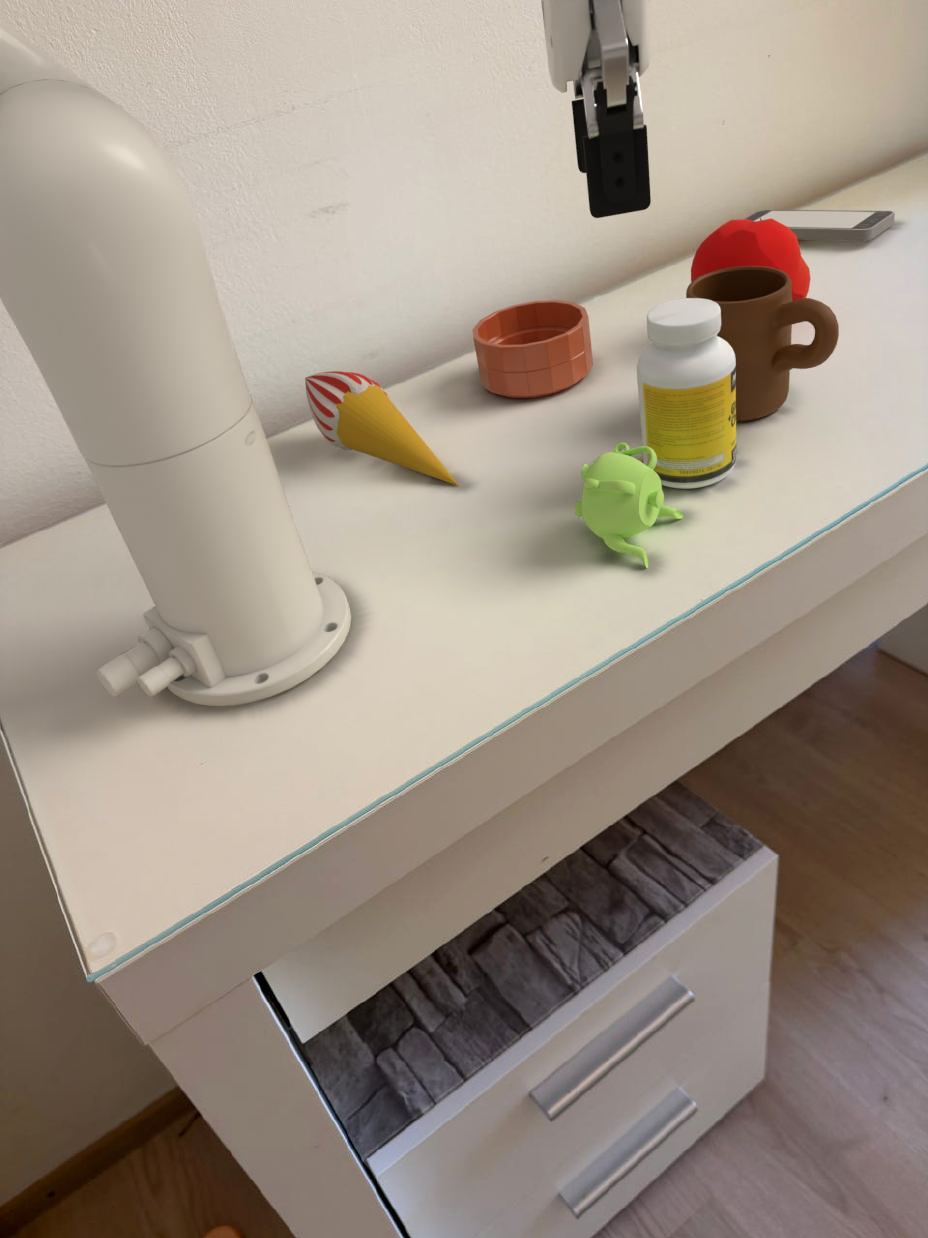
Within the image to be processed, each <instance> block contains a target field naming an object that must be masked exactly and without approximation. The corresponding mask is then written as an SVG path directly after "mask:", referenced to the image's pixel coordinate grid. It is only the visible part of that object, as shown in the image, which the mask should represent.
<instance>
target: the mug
mask: <svg viewBox="0 0 928 1238" xmlns="http://www.w3.org/2000/svg"><path fill="white" fill-rule="evenodd" d="M685 298H701V299H708V300H711V301H714V302H716V303H717V304H718V305H719V306H720V309H721V329H720V331H719V333H718V334H717V336H718V337H720V338H722V339H724V340H725V341H726V342H727V343H728V344H729V345H730V346H731V347H732V349H733V351H734V354H735V359H736V423H739V422H749V421H753V420H757V419H761V418H764V417H766V416H769V415H771V414H773V413H775V412H777V410H779V409H780V408H781V407H782V406H783V405H784V404H785V402H786V401H787V399H788V395H789V389H790V379H791V378H790V376H791V375H790V374H791V373H790V372H791V370H793V369H797V370H798V369H799V370H807V369H813V368H816V367H819V366H821V365H822V364H823V363H825V362H826V361H827V360H828V359H829V358H830V357H831V356H832V355H833V353H834V351H835V350H836V348H837V346H838V341H839V335H840V333H839V332H840V331H839V329H840V328H839V322H838V319H837V316H836V313H834V311H833V310H832V308H831V307H830V306H829V305H827V304H825V303H824V302H822V301H820V300H817V299H815V298H811V297H806V298H803V299H799V300H796V301H792V291H791V279H790V277H789V276H788V274H786V273H785V272H783V271H781V270H779V269H775V268H770V267H763V266H742V267H732V268H726V269H721V270H717V271H714V272H710V273H708V274H705V275H703V276H700V277H698V278H697V279H695V280H694V281H692V282H691V281H690V283H689V284H688V286H687V288H686V292H685ZM804 322H807V323H809V324H811V326H813V329H814V336H813V339H812V341H811V343H810V344H803V343H792V332H793V331H792V330H793V329H792V328H793V326H792V325H795V324H796V325H797V324H800V323H804Z"/></svg>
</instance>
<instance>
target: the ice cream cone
mask: <svg viewBox="0 0 928 1238" xmlns="http://www.w3.org/2000/svg"><path fill="white" fill-rule="evenodd" d="M304 381H305V383H304V384H305V392H306V394H305V395H306V399H307V402H308V406H309V411H310V413H311V417H312V419H313V422H314V423H315V426H316V427H317V429H318V431H319V432H320V433H321V435H322V436H323V438H324V439H325V440H326V441H327V442H328V443H329V444H330V445H331V446H333V447H335V448H339V449H341V450H344V451H351V450H352V451H356V452H359V453H361V454H365V455H368V456H371V457H373V458H377V459H379V460H382V461H385V462H388V463H391V464H394V465H397V466H400V467H402V468H405V469H409V470H412V471H414V472H417V473H419V474H423V475H426V476H428V477H432V478H434V479H437V480H440V481H443V482H447V483H449V484H452V485H455V486H458V487H460V484H459V483H458V482H457V481H456V480H455V478H454V477H453V475H452V474H451V473H450V472H449V471H448V469H447V468H446V467H445V466H444V465H443V463H442V462H441V460H440V459H438V457H437V456H436V455H435V453H434V452H433V451H432V449H430V447H429V446H428V444H427V443H426V442H425V441H424V440H423V438H422V437H421V436H420V435H419V433H417V431H416V430H415V429H414V427H413V426H412V425H411V424H410V422H409V421H408V420H407V419H406V417H405V416H404V415H403V414H402V412H401V411H400V410H399V409H398V408H397V407H396V405H395V404H394V403H393V401H392V400H391V398H390V396H389V394H388V393H387V392H386V391H385V390H383V387H382V386H381V385H380V384H379V383H378V382H377V381H375V380H373V379H370V378H369V377H367V376H365V375H364V374H361V373H358V372H351V371H339V370H337V371H336V370H333V371H322V372H318V373H314V374H311V375H308V376H307V377H305V378H304Z"/></svg>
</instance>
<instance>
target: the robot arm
mask: <svg viewBox="0 0 928 1238" xmlns="http://www.w3.org/2000/svg"><path fill="white" fill-rule="evenodd" d="M540 1H541V11H542V18H543V19H542V20H543V21H542V22H543V28H544V29H543V30H544V38H545V46H546V47H545V48H546V55H547V66H548V72H549V73H548V74H549V77H550V80H551V84H552V86H553V88H554V89H555V90H557V91H558V92H560V93H561V94H563V93H567V92H568V83H569V82H572V83H573V94H574V100H571V110H572V119H573V120H572V121H573V130H574V141H575V151H576V160H577V168H578V171H579V172H580V173H582V174H585V175H586V185H587V186H586V188H587V197H588V209H589V212H590V215H591V217H593V218H594V219H601V218H607V217H612V216H617V215H623V214H629V213H634V212H641V211H645V210H647V209H648V208H649V207H650V206H651V204H652V203H651V202H652V200H651V199H652V197H651V180H650V163H649V144H648V143H649V141H648V126H647V124H644V110H643V104H642V103H643V101H642V92H641V86H640V78H641V76H643V75H644V74H645V72H646V71H647V70H648V69H649V67H650V57H651V56H650V55H651V54H650V52H651V45H650V43H651V42H650V41H651V38H650V37H651V35H650V34H651V33H650V31H651V30H650V29H651V27H650V26H651V25H650V24H651V23H650V0H540ZM0 301H1V303H2V304H3V306H4V308H5V310H6V312H7V313H8V316H9V317H10V319H11V321H12V322H13V324H14V326H15V328H16V329H17V331H18V334H19V335H20V337H21V339H22V341H23V342H24V344H25V346H26V348H27V349H28V351H29V354H30V355H31V357H32V359H33V361H34V362H35V364H36V367H37V368H38V370H39V372H40V374H41V375H42V378H43V380H44V382H45V384H46V386H47V387H48V389H49V391H50V393H51V396H52V398H53V401H54V402H55V404H56V406H57V407H58V410H59V412H60V413H61V416H62V418H63V420H64V421H65V424H66V426H67V428H68V430H69V432H70V434H71V437H72V438H73V440H74V442H75V444H76V446H77V449H78V450H79V453H80V455H81V457H82V458H83V459H84V461H85V463H86V465H87V467H88V469H89V471H90V473H91V475H92V477H93V479H94V481H95V484H96V486H97V488H98V490H99V491H100V494H101V496H102V498H103V500H104V502H105V504H106V506H107V509H108V510H109V512H110V514H111V517H112V519H113V521H114V523H115V525H116V527H117V529H118V531H119V533H120V535H121V538H122V540H123V541H124V544H125V546H126V548H127V549H128V552H129V554H130V556H131V558H132V560H133V562H134V565H135V566H136V569H137V570H138V573H139V574H140V577H141V579H142V581H143V583H144V585H145V587H146V589H147V591H148V593H149V596H150V597H151V599H152V602H153V604H154V606H153V607H152V608H149V609H148V610H146V611H145V612H143V613H142V616H143V618H144V620H145V622H146V624H147V626H148V628H149V629H148V630H147V631H146V632H144V633H143V634H141V635H139V636H138V644H136V645H135V646H134V647H131V649H129V650H127V651H126V652H124V653H121V654H119V655H118V656H116V657H114V658H113V659H112V660H109V661H108V662H106V663H105V664H104V665H102V666H101V667H100V668H98V669H96V670H95V675H96V677H97V679H98V681H99V682H100V683H101V685H102V686H103V688H104V689H105V690H106V691H107V692H108V693H109V694H110V695H111V696H112V697H113V698H117V697H118V696H119V695H121V694H122V693H124V692H125V691H127V690H128V689H130V688H131V687H133V686H134V685H135V684H138V685H139V687H140V688H141V689H142V691H143V692H144V694H146V695H147V696H148V697H149V698H153V697H154V696H156V695H157V694H159V693H160V692H161V691H163V690H165V689H166V688H167V689H168V690H169V691H170V692H171V693H172V694H173V695H175V696H176V697H178V698H180V699H182V700H183V701H187V702H188V703H189V702H190V703H193V704H196V705H202V706H211V707H229V706H238V705H245V704H250V703H255V702H258V701H262V700H265V699H268V698H271V697H274V696H276V695H279V694H281V693H284V692H286V691H289V690H290V689H293V688H294V687H296V686H298V685H300V684H301V683H303V682H305V681H307V680H308V679H310V678H311V677H312V676H313V675H315V674H316V673H317V672H319V671H320V670H321V669H323V668H324V667H325V666H326V665H327V664H328V663H329V662H330V661H331V659H332V658H334V657H335V656H336V655H337V653H338V652H339V650H340V649H341V647H342V646H343V645H344V643H345V641H346V639H347V637H348V634H349V632H350V629H351V624H352V623H351V622H352V613H351V608H350V604H349V601H348V599H347V596H346V593H345V591H344V590H343V589H342V588H341V586H340V585H339V584H338V583H337V582H335V581H334V580H332V578H330V577H328V576H325V575H323V574H321V573H318V572H315V571H312V568H311V564H310V561H309V559H308V556H307V553H306V550H305V547H304V544H303V542H302V539H301V536H300V532H299V530H298V527H297V524H296V521H295V518H294V516H293V512H292V509H291V506H290V504H289V501H288V498H287V495H286V492H285V489H284V487H283V484H282V480H281V478H280V475H279V472H278V469H277V467H276V463H275V460H274V457H273V454H272V452H271V449H270V446H269V443H268V440H267V438H266V434H265V431H264V429H263V425H262V423H261V422H262V421H261V419H260V416H259V414H258V411H257V408H256V404H255V401H254V399H253V396H252V393H251V392H250V389H249V386H248V383H247V380H246V378H245V374H244V372H243V368H242V366H241V363H240V359H239V356H238V354H237V352H236V348H235V345H234V341H233V338H232V336H231V333H230V330H229V327H228V324H227V320H226V318H225V317H226V316H225V314H224V310H223V307H222V303H221V301H220V297H219V294H218V290H217V287H216V283H215V280H214V276H213V272H212V268H211V265H210V260H209V257H208V253H207V249H206V245H205V243H204V239H203V236H202V232H201V229H200V226H199V223H198V219H197V216H196V213H195V210H194V207H193V205H192V202H191V200H190V197H189V194H188V192H187V189H186V188H185V185H184V183H183V181H182V178H181V177H180V175H179V172H178V171H177V169H176V167H175V165H174V164H173V162H172V160H171V159H170V157H169V155H168V154H167V152H166V151H165V149H164V148H163V146H162V145H161V144H160V143H159V141H158V140H157V139H156V138H155V137H154V136H153V134H152V133H151V132H150V131H149V129H147V128H146V127H145V126H144V124H142V123H141V122H140V121H139V120H137V118H136V117H134V116H133V115H132V114H130V112H128V111H127V110H125V109H124V108H123V107H122V106H120V105H119V104H117V103H116V102H114V101H113V100H112V99H110V98H109V97H107V96H106V95H105V94H103V93H102V92H101V91H99V90H98V89H96V88H95V87H94V86H92V85H91V84H90V83H88V82H86V80H84V79H82V78H81V77H80V76H79V75H77V74H76V73H74V72H73V71H72V70H70V69H69V68H67V67H66V66H65V65H64V64H62V63H61V62H60V61H58V60H57V59H55V58H54V57H52V56H51V55H50V54H49V53H47V52H46V51H45V50H43V49H42V48H40V47H39V46H38V45H36V44H35V43H33V42H32V41H31V40H29V38H27V37H26V36H25V35H23V34H22V33H21V32H19V31H18V30H16V29H15V28H13V27H12V26H11V25H9V24H8V23H7V22H5V21H4V20H3V19H2V18H0Z"/></svg>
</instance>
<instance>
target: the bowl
mask: <svg viewBox="0 0 928 1238" xmlns="http://www.w3.org/2000/svg"><path fill="white" fill-rule="evenodd" d="M472 339H473V344H474V350H475V356H476V361H477V366H478V372H479V377H480V378H479V379H480V384H481V386H482V387H483V388H485V389H486V390H488V392H490V393H492V394H497V395H499V396H502V397H506V398H513V399H531V398H532V399H533V398H540V397H544V396H546V397H547V396H550V395H554V394H556V393H560V392H562V391H565V390H567V389H569V388H571V387H572V386H574V385H575V384H577V383H578V382H579V381H581V380H582V379H583V378H585V377H586V376H588V375H589V373H590V371H591V370H592V368H593V366H594V361H593V360H594V359H593V349H592V341H591V340H592V338H591V329H590V320H589V314H588V312H587V309H586V307H584V306H582V305H580V304H578V303H576V302H573V301H566V300H561V299H560V300H559V299H552V300H551V299H549V300H546V299H545V300H533V301H528V302H523V303H518V304H513V305H511V306H507V307H504V308H501V309H498V310H496V311H494V312H492V313H490V314H488V315H486V316H485V317H483V318H481V319H479V321H478V322H477V323H476V324H475V325H474V327H473V328H472Z"/></svg>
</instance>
